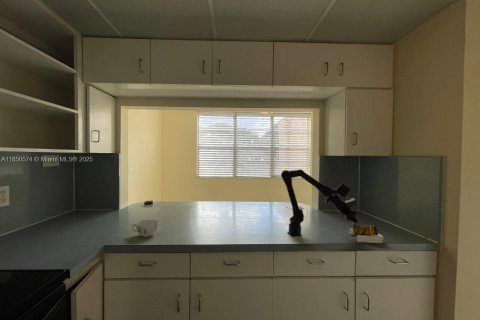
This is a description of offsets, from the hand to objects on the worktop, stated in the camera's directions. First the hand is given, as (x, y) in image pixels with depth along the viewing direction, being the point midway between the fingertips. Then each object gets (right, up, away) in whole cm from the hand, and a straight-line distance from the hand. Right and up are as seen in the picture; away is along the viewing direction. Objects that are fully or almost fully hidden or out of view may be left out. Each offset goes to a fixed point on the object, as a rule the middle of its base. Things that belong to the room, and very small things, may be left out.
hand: (357, 222), depth 150 cm
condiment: (-1, -4, 0) cm, 4 cm away
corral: (+5, -9, 0) cm, 10 cm away
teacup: (-124, -7, -1) cm, 124 cm away
